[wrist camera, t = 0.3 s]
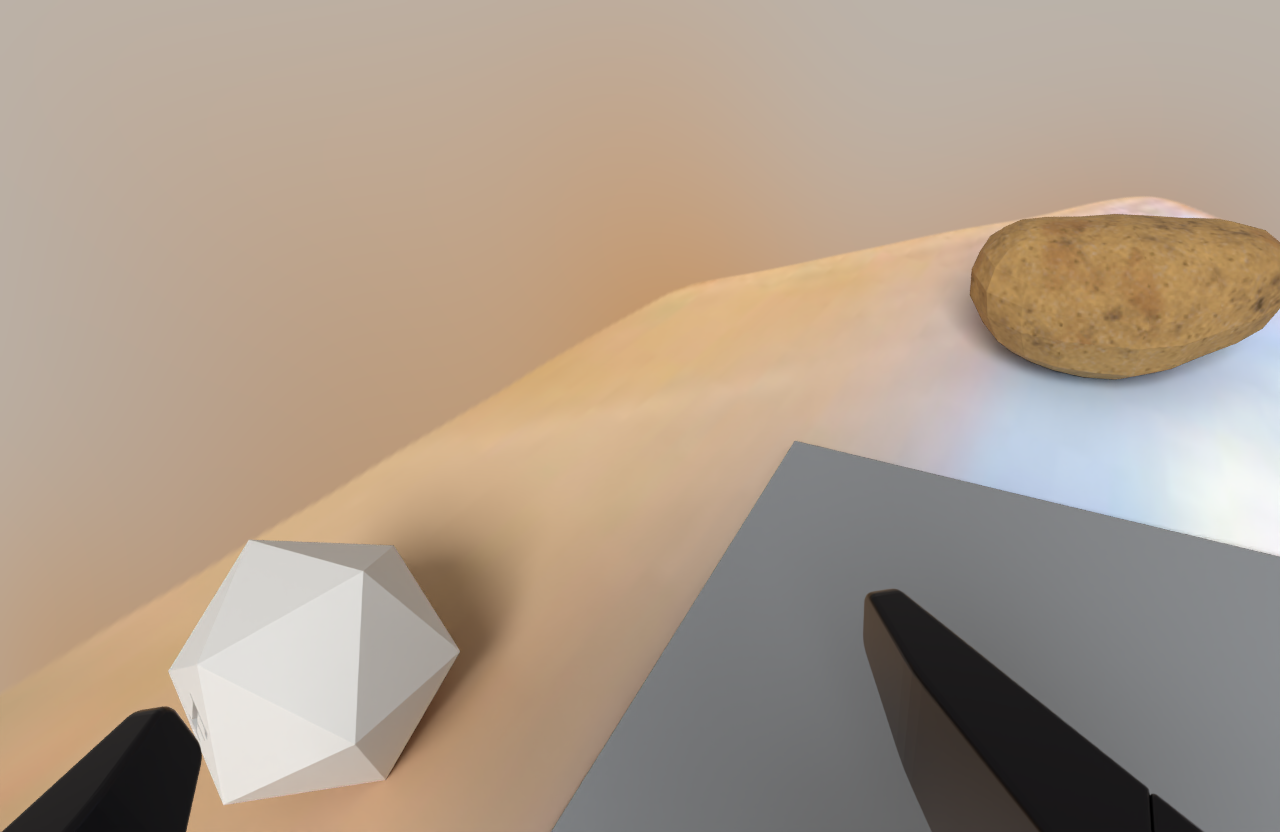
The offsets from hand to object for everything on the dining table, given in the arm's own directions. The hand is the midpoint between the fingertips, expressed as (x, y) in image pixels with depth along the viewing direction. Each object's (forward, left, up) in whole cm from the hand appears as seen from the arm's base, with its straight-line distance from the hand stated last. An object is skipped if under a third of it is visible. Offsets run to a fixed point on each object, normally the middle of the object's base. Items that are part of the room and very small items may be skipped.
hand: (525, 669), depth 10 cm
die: (+12, +10, -16) cm, 22 cm away
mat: (+7, -12, -16) cm, 21 cm away
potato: (+24, -28, -16) cm, 40 cm away
